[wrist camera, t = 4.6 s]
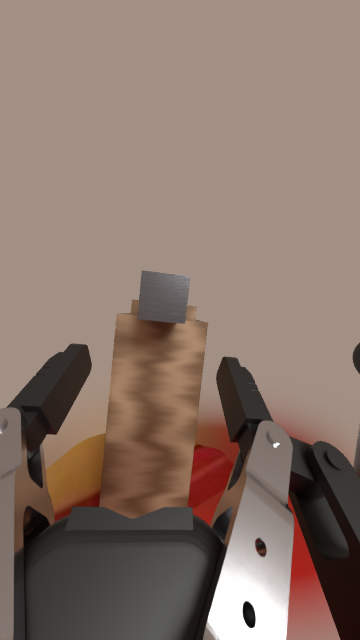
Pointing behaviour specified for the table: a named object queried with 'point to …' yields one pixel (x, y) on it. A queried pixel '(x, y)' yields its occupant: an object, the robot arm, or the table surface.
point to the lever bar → (163, 297)
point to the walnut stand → (152, 413)
